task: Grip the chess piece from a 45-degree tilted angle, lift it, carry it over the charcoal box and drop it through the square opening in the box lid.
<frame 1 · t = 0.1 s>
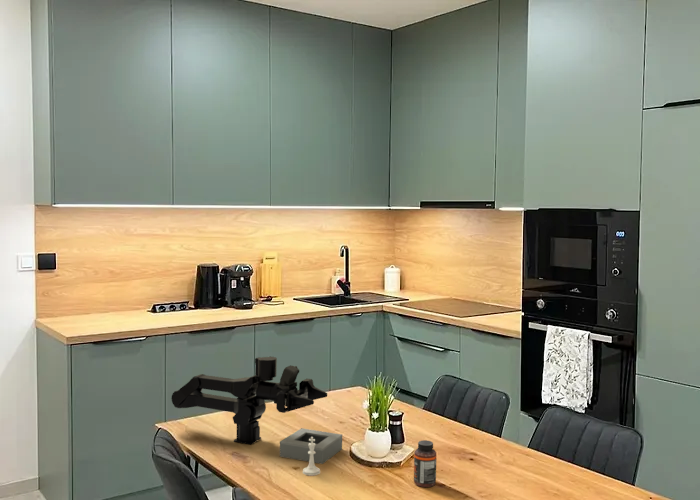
hand: (320, 398, 208), 17 cm above the table, tool horizontal, fingers open, 9 cm apart
coin box: (311, 452, 209), on the table
supplement bottle: (424, 484, 187), on the table
chess piece: (311, 473, 194), on the table
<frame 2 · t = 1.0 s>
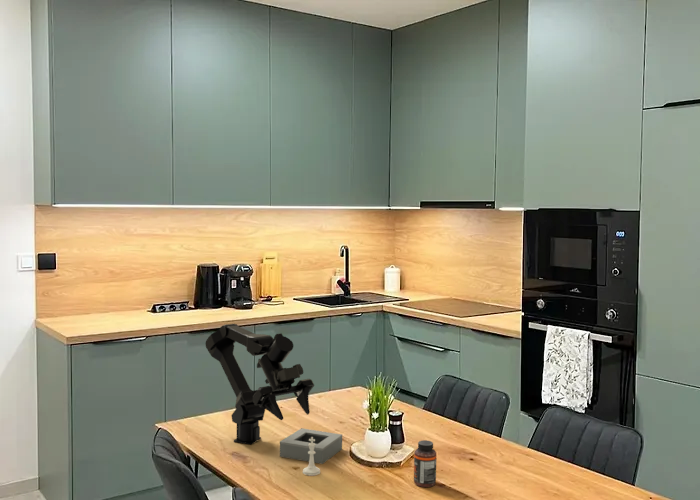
hand: (295, 416, 199), 14 cm above the table, tool tilted 45°, fingers open, 9 cm apart
nothing on the table moved.
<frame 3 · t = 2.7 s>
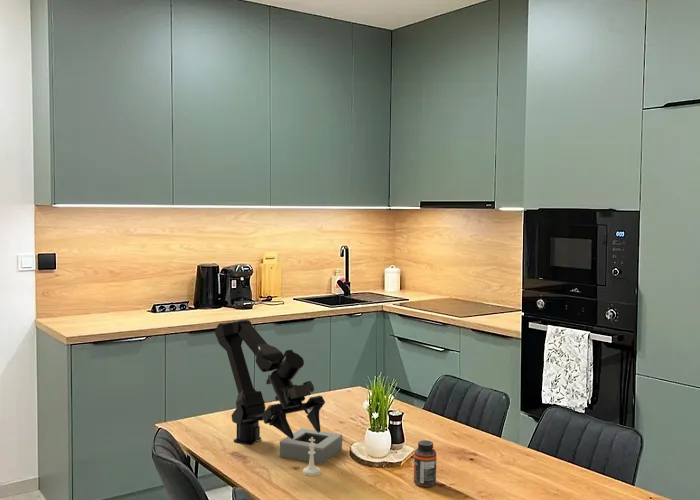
hand: (306, 435, 195), 10 cm above the table, tool tilted 45°, fingers open, 9 cm apart
nothing on the table moved.
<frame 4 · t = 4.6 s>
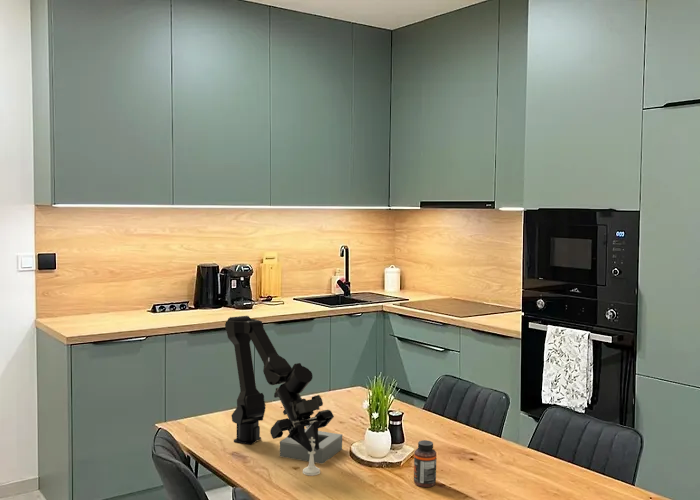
hand: (314, 450, 192), 7 cm above the table, tool tilted 45°, fingers closed on chess piece
chess piece: (311, 472, 194), on the table, touching gripper
everything else where it was.
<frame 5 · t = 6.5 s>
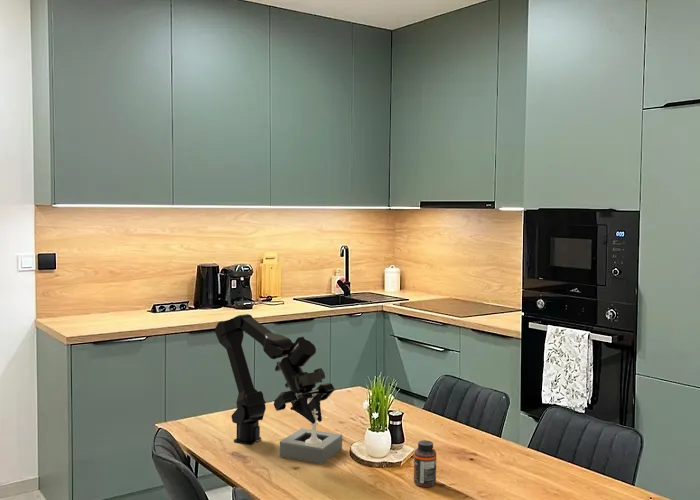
hand: (317, 422, 196), 13 cm above the table, tool tilted 45°, fingers closed on chess piece
chess piece: (313, 444, 197), point 7 cm above the table, touching gripper
everything else where it was.
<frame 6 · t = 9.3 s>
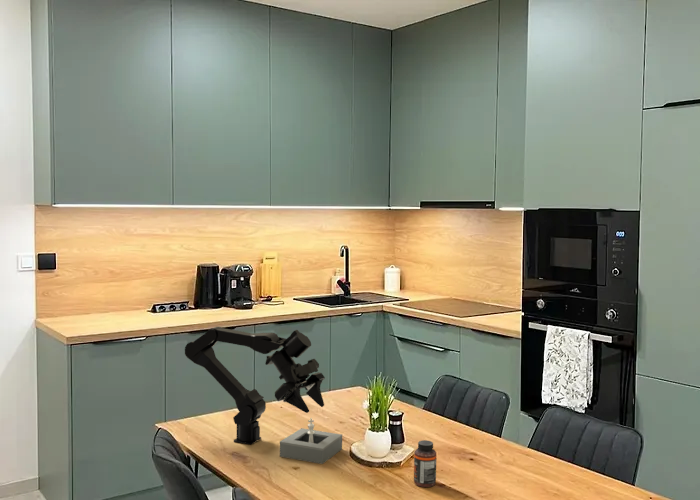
hand: (315, 409, 208), 14 cm above the table, tool tilted 45°, fingers open, 7 cm apart
chess piece: (311, 451, 209), resting on coin box
everything else where it was.
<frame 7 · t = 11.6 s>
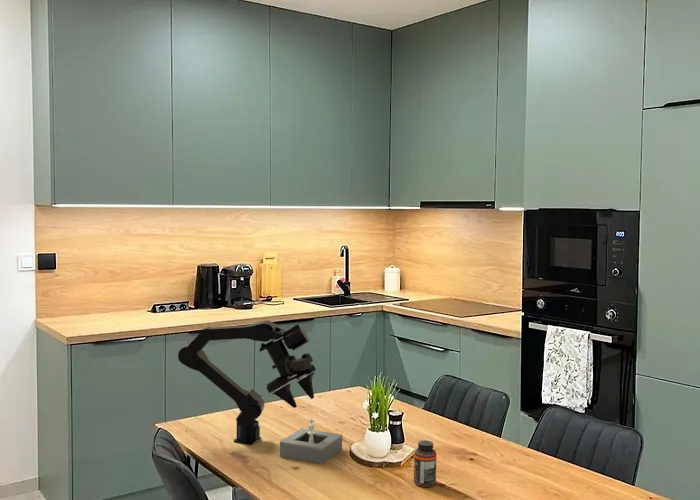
hand: (304, 402, 214), 14 cm above the table, tool tilted 35°, fingers open, 9 cm apart
nothing on the table moved.
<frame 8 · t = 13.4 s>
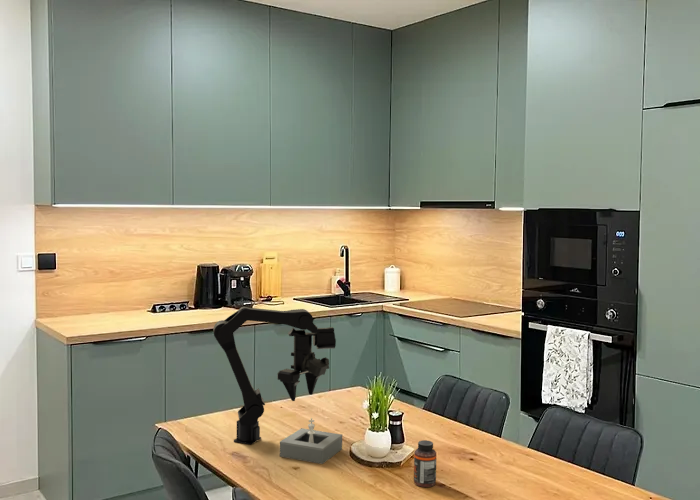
hand: (302, 397, 222), 13 cm above the table, tool pointing down, fingers open, 9 cm apart
nothing on the table moved.
at the end: chess piece inside the target area on the coin box (0.1 cm from its centre), point 0.3 cm above the coin box's base; the gripper is holding nothing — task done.
